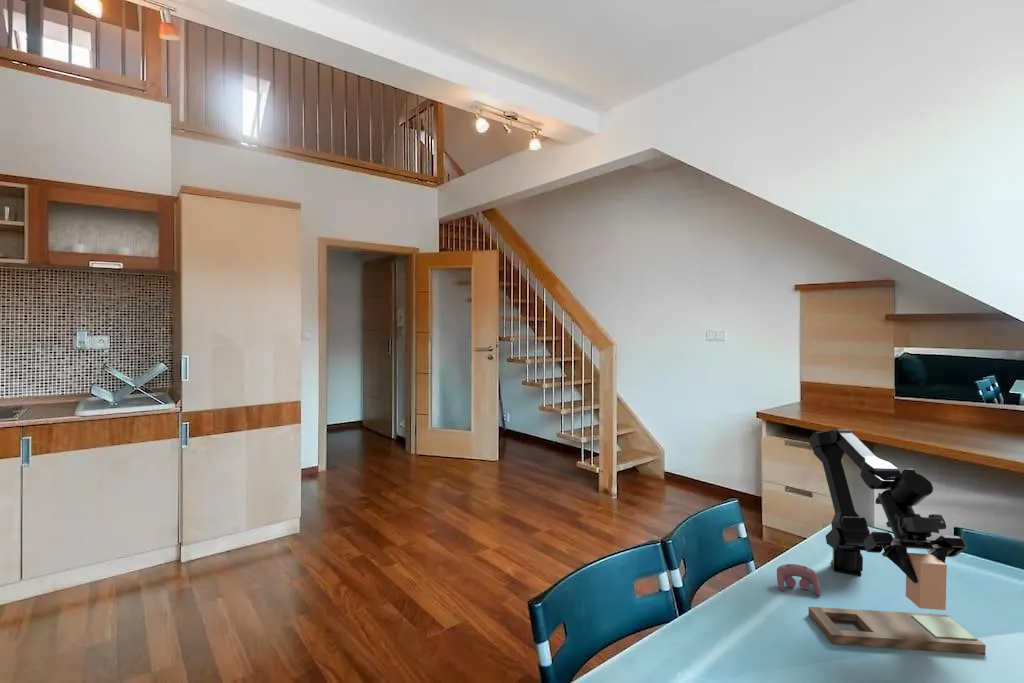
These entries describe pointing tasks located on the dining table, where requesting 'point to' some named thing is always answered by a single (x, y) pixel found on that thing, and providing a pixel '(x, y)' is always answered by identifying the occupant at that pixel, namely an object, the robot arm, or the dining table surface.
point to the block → (927, 582)
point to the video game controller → (800, 571)
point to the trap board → (894, 630)
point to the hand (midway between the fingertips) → (929, 583)
